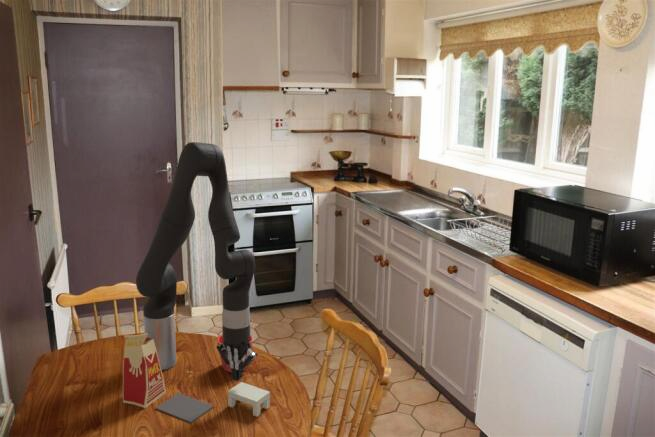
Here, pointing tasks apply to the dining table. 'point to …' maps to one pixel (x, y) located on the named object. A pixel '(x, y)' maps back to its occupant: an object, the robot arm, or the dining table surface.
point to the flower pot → (225, 366)
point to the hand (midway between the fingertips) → (237, 379)
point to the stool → (249, 397)
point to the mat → (184, 407)
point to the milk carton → (141, 372)
